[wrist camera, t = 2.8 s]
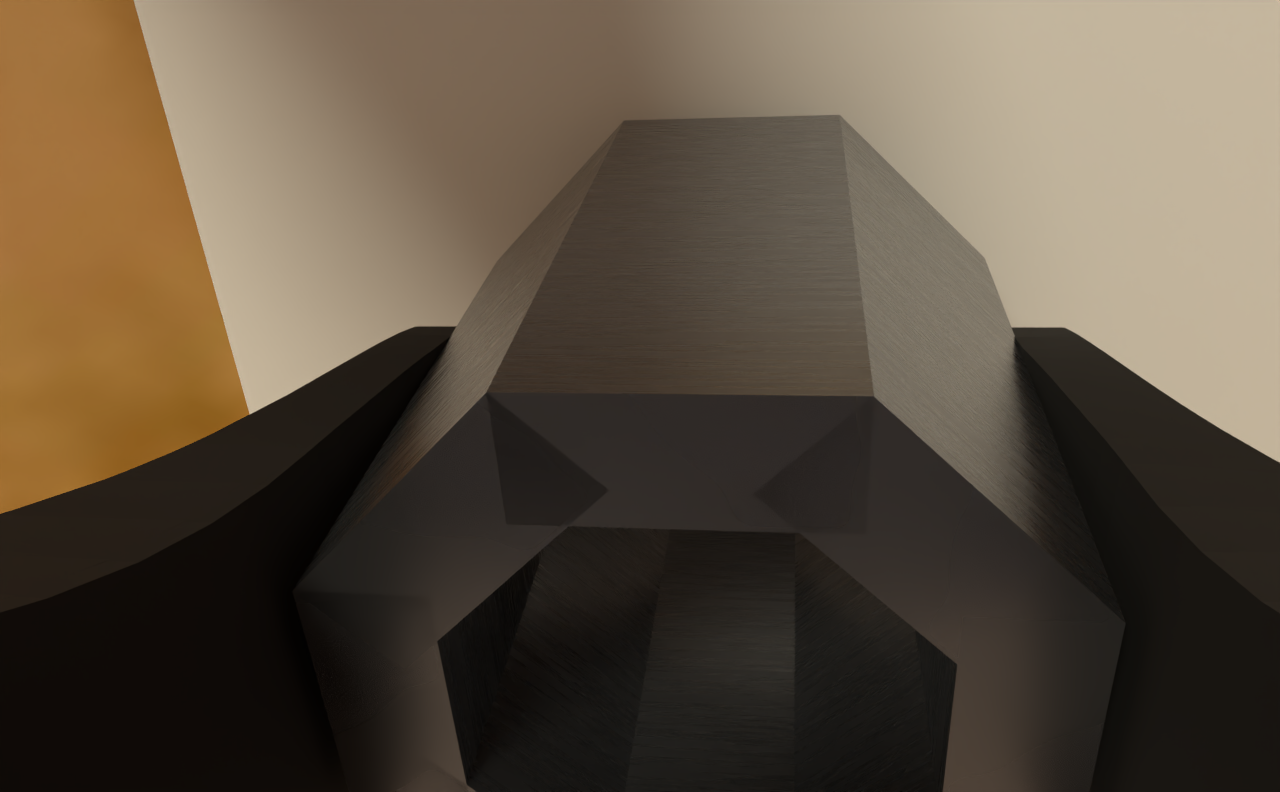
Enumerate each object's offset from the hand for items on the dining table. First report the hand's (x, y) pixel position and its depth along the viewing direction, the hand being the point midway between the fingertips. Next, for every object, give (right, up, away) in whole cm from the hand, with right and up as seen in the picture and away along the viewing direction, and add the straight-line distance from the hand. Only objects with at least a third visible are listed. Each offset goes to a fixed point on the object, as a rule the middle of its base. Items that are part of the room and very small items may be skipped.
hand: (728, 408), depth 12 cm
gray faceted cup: (0, +1, +1) cm, 1 cm away
